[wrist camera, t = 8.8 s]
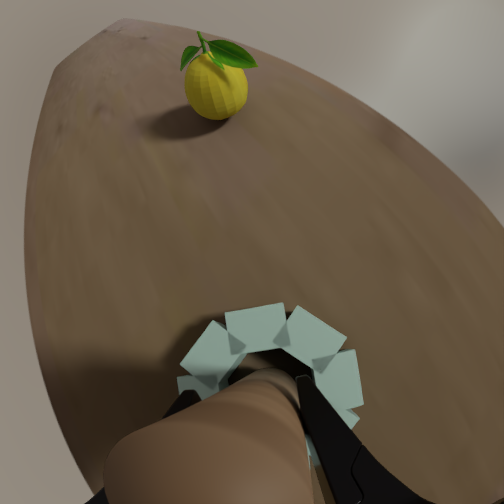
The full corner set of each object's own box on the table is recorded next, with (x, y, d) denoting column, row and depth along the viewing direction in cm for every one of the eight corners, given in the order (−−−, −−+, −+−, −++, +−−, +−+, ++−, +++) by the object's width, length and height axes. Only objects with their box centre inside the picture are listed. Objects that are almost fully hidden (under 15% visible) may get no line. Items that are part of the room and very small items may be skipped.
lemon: (267, 126, 23) (252, 31, 14) (206, 147, 23) (168, 58, 14) (244, 89, 26) (225, 10, 17) (192, 108, 26) (160, 32, 17)
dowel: (292, 425, 14) (283, 587, 2) (235, 414, 14) (104, 531, 2) (303, 372, 15) (344, 451, 3) (246, 362, 15) (110, 390, 3)
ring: (359, 443, 14) (369, 455, 12) (207, 463, 15) (196, 476, 12) (335, 297, 18) (342, 289, 15) (184, 324, 18) (169, 320, 16)
